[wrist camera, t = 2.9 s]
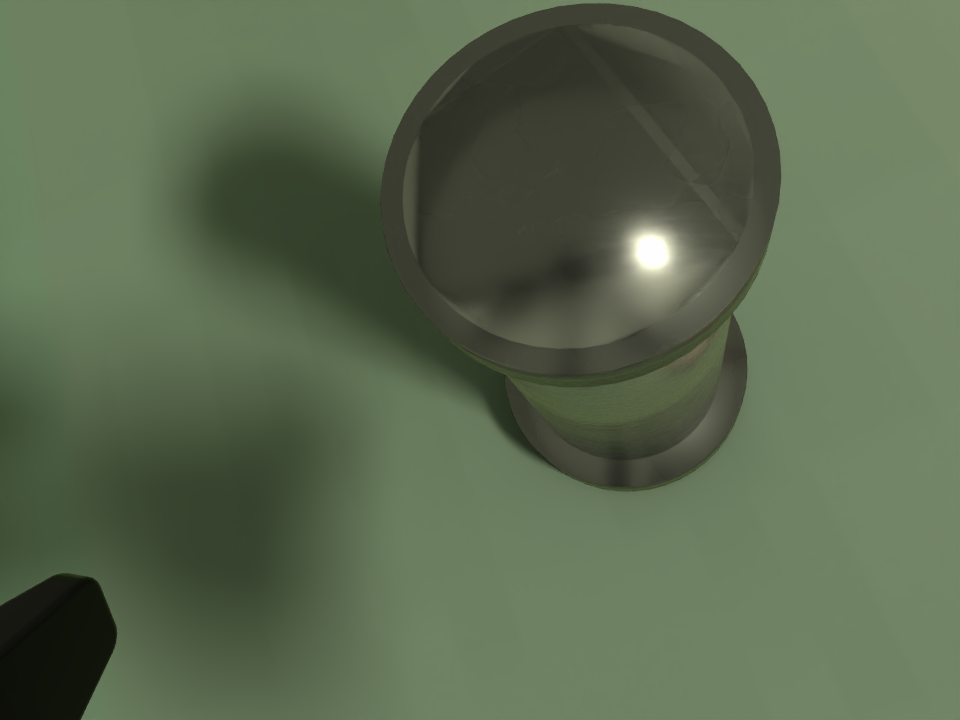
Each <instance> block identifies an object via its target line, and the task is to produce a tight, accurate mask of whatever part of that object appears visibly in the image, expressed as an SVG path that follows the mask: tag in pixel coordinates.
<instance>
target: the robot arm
mask: <svg viewBox="0 0 960 720" xmlns="http://www.w3.org/2000/svg"><path fill="white" fill-rule="evenodd" d="M116 639H117V628H116V624H115V622H114V619H113V617H112V614H111V612H110V609H109V607H108V604H107V602H106V599H105V597H104V594H103V592H102V589H101V587H100V585H99V583H98V582H97V581H96V580H95V579H93V578H91V577H87V576H81V575H75V574H69V573H62V574H57V575H54V576H52V577H50V578H48V579H46V580H45V581H43V582H41V583H39V584H38V585H36V586H34V587H32V588H31V589H29V590H27V591H25V592H24V593H22V594H20V595H18V596H16V597H15V598H13V599H11V600H9V601H8V602H6V603H4V604H2V605H1V606H0V720H81V718H82V716H83V714H84V712H85V709H86V707H87V705H88V703H89V701H90V699H91V697H92V695H93V693H94V691H95V688H96V686H97V684H98V682H99V680H100V678H101V676H102V674H103V672H104V670H105V667H106V665H107V663H108V661H109V659H110V657H111V655H112V653H113V650H114V648H115V644H116Z"/></svg>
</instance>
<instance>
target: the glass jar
mask: <svg viewBox="0 0 960 720" xmlns="http://www.w3.org/2000/svg"><path fill="white" fill-rule="evenodd" d="M780 184H781V165H780V150H779V146H778V141H777V136H776V132H775V127H774V124H773V122H772V119H771V116H770V114H769V111H768V108H767V106H766V103H765V102H764V100H763V98H762V96H761V95H760V93H759V91H758V89H757V87H756V86H755V84H754V82H753V81H752V80H751V78H750V77H749V76H748V75H747V73H746V72H745V71H744V69H743V68H742V67H741V65H740V64H739V63H738V62H737V61H736V60H735V59H734V58H733V57H732V56H731V55H730V54H729V53H728V52H726V51H725V50H724V49H723V48H722V47H721V46H720V45H718V44H717V43H716V42H714V41H713V40H712V39H710V38H709V37H707V36H706V35H705V34H703V33H702V32H700V31H698V30H696V29H694V28H693V27H691V26H689V25H687V24H685V23H683V22H681V21H679V20H677V19H674V18H671V17H669V16H666V15H663V14H661V13H658V12H654V11H650V10H646V9H642V8H638V7H634V6H626V5H617V4H576V5H567V6H559V7H554V8H550V9H546V10H541V11H537V12H533V13H531V14H528V15H525V16H522V17H519V18H516V19H513V20H511V21H509V22H507V23H505V24H502V25H500V26H498V27H496V28H494V29H492V30H490V31H488V32H487V33H485V34H483V35H482V36H480V37H478V38H477V39H475V40H474V41H472V42H470V43H469V44H467V45H466V46H465V47H464V48H462V49H461V50H460V51H458V52H457V53H456V54H455V55H453V56H452V57H451V58H450V59H448V60H447V61H446V62H445V63H444V64H443V65H442V66H441V67H440V68H439V69H438V70H437V71H436V72H435V73H434V74H433V75H432V76H431V77H430V79H429V80H428V81H427V82H426V84H425V85H424V86H423V87H422V89H421V90H420V91H419V92H418V93H417V95H416V96H415V98H414V99H413V101H412V103H411V104H410V106H409V107H408V109H407V111H406V112H405V114H404V116H403V118H402V120H401V122H400V124H399V126H398V128H397V130H396V132H395V134H394V137H393V140H392V143H391V146H390V149H389V152H388V155H387V158H386V163H385V168H384V173H383V178H382V189H381V216H382V228H383V232H384V237H385V242H386V246H387V250H388V253H389V256H390V258H391V261H392V264H393V266H394V269H395V271H396V273H397V275H398V277H399V279H400V281H401V283H402V284H403V286H404V288H405V290H406V292H407V293H408V294H409V296H410V297H411V298H412V300H413V301H414V302H415V304H416V305H417V306H418V308H419V309H420V310H421V311H422V313H423V314H424V315H425V316H426V317H427V318H428V319H429V320H430V321H431V322H432V323H433V324H434V325H435V326H436V327H437V328H438V329H439V330H440V331H441V332H442V333H443V334H444V335H445V336H446V337H447V338H448V339H449V340H450V341H451V342H452V343H453V344H454V345H455V346H456V347H458V348H459V349H460V350H462V351H463V352H464V353H466V354H467V355H468V356H470V357H471V358H472V359H474V360H476V361H478V362H480V363H481V364H483V365H485V366H487V367H488V368H490V369H492V370H494V371H497V372H499V373H502V374H504V375H505V383H506V392H507V396H508V400H509V404H510V407H511V410H512V412H513V415H514V417H515V420H516V422H517V423H518V425H519V427H520V429H521V431H522V432H523V434H524V435H525V437H526V438H527V439H528V441H529V442H530V443H531V445H532V446H533V447H534V448H535V449H536V450H537V451H538V452H539V453H540V454H541V455H542V456H543V457H544V458H545V459H546V460H547V461H549V462H550V463H551V464H552V465H554V466H555V467H556V468H557V469H559V470H560V471H561V472H563V473H565V474H566V475H568V476H570V477H572V478H573V479H575V480H578V481H580V482H583V483H585V484H587V485H590V486H594V487H598V488H601V489H607V490H614V491H640V490H648V489H653V488H657V487H661V486H664V485H667V484H670V483H672V482H675V481H677V480H679V479H681V478H683V477H685V476H687V475H688V474H690V473H692V472H694V471H695V470H696V469H697V468H699V467H700V466H701V465H703V464H704V463H705V462H706V461H707V460H708V459H709V458H710V457H711V456H712V455H713V454H714V453H715V452H716V451H717V450H718V449H719V448H720V446H721V445H722V444H723V442H724V441H725V440H726V438H727V437H728V435H729V433H730V431H731V429H732V428H733V426H734V424H735V421H736V418H737V416H738V413H739V411H740V408H741V405H742V402H743V397H744V393H745V389H746V381H747V355H746V350H745V344H744V340H743V337H742V334H741V331H740V328H739V325H738V323H737V321H736V319H735V317H734V315H733V312H734V311H735V309H736V308H737V307H738V305H739V304H740V303H741V302H742V300H743V299H744V298H745V296H746V294H747V292H748V291H749V289H750V287H751V285H752V284H753V282H754V280H755V278H756V277H757V275H758V272H759V270H760V267H761V265H762V262H763V260H764V257H765V255H766V252H767V248H768V244H769V240H770V236H771V232H772V229H773V224H774V220H775V216H776V212H777V208H778V204H779V195H780Z"/></svg>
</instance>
